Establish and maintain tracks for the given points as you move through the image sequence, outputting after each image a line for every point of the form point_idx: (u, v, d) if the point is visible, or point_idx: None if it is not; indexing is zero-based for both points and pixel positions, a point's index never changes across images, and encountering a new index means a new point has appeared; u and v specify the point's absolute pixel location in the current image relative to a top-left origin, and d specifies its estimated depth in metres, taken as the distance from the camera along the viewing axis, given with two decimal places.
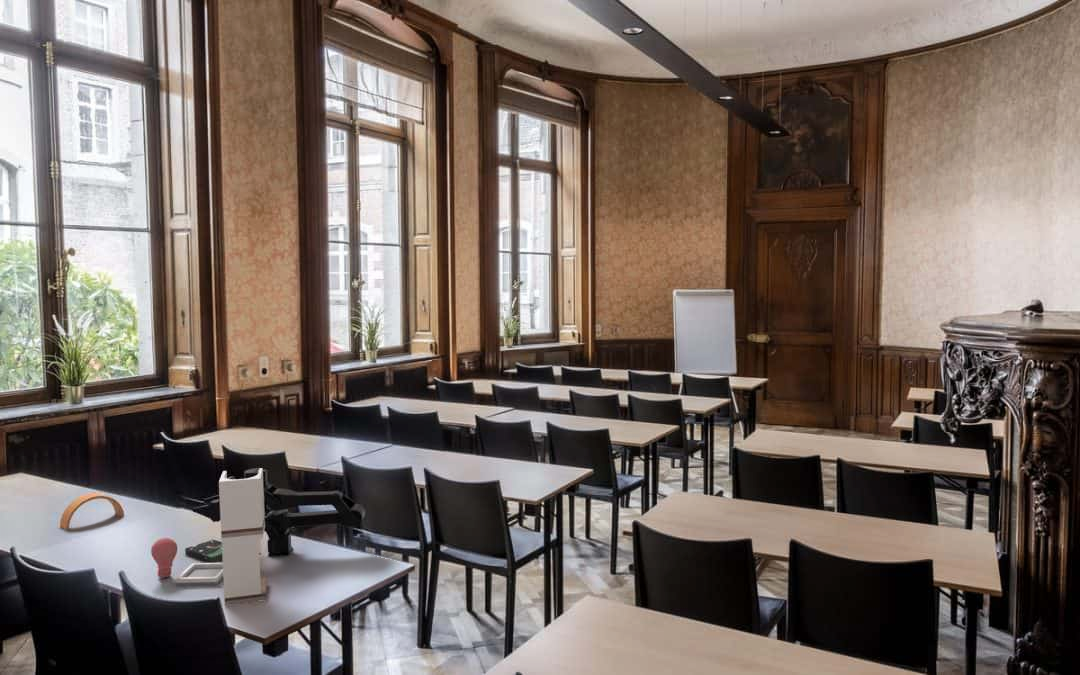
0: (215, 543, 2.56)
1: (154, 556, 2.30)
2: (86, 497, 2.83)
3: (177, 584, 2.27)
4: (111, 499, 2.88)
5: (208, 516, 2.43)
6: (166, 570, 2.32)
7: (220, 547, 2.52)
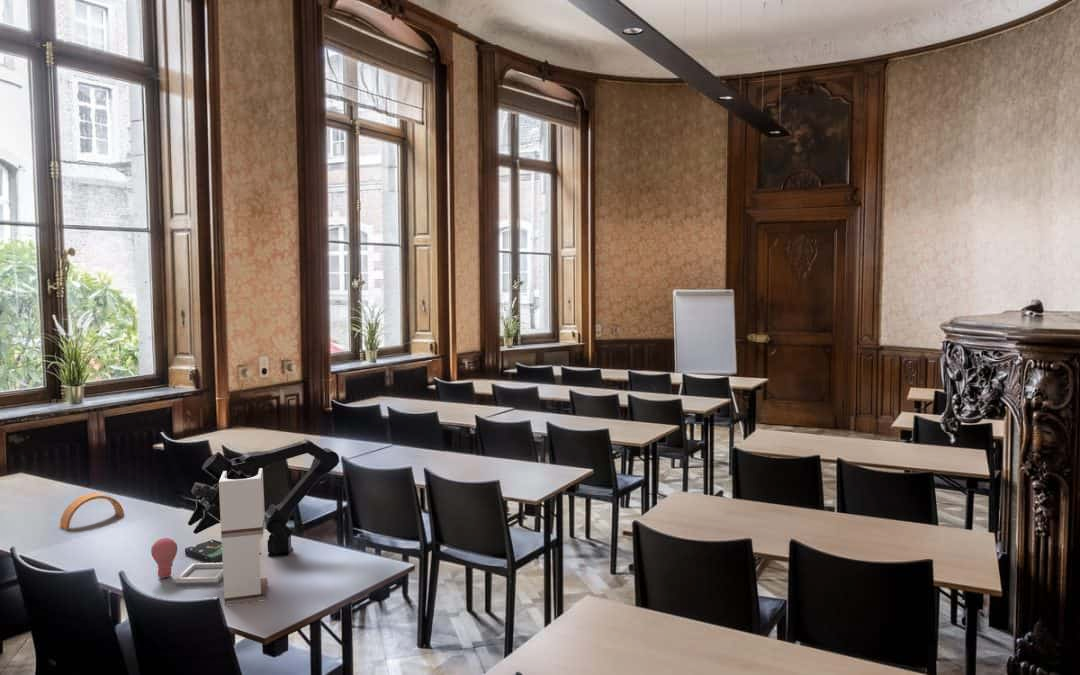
0: (215, 543, 2.56)
1: (154, 556, 2.30)
2: (86, 497, 2.83)
3: (177, 584, 2.27)
4: (111, 499, 2.88)
5: (213, 524, 2.34)
6: (166, 570, 2.32)
7: (220, 547, 2.52)
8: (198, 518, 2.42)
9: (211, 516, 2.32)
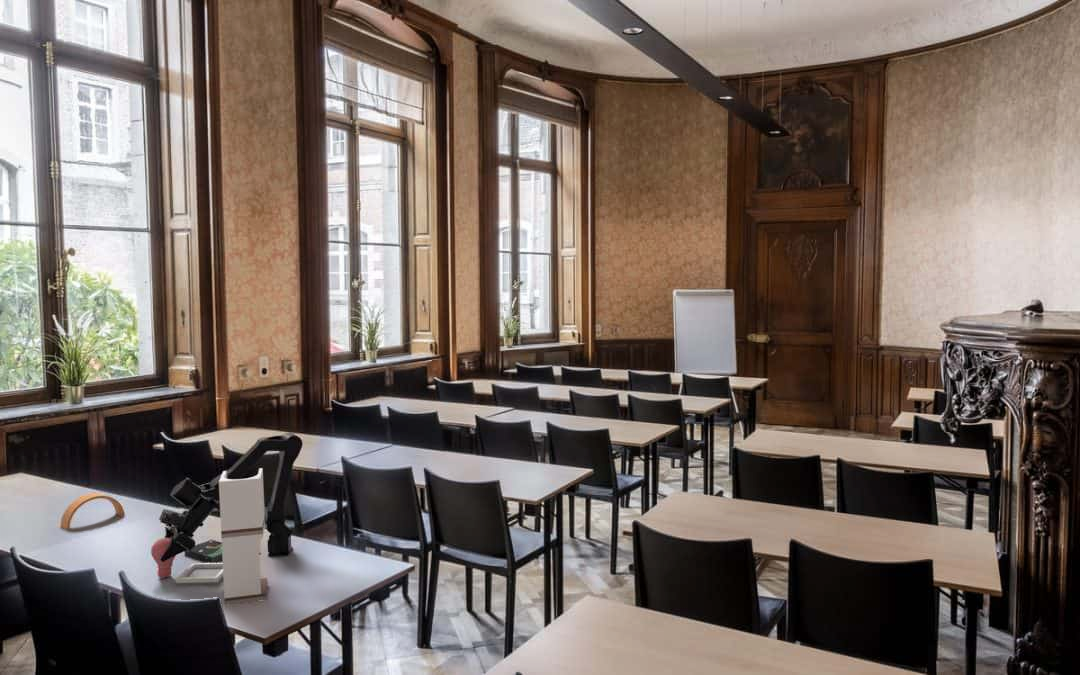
0: (214, 544, 2.56)
1: (154, 556, 2.30)
2: (87, 497, 2.83)
3: (177, 584, 2.27)
4: (112, 499, 2.88)
5: (180, 551, 2.30)
6: (166, 570, 2.32)
7: (220, 547, 2.52)
8: None
9: (178, 543, 2.28)
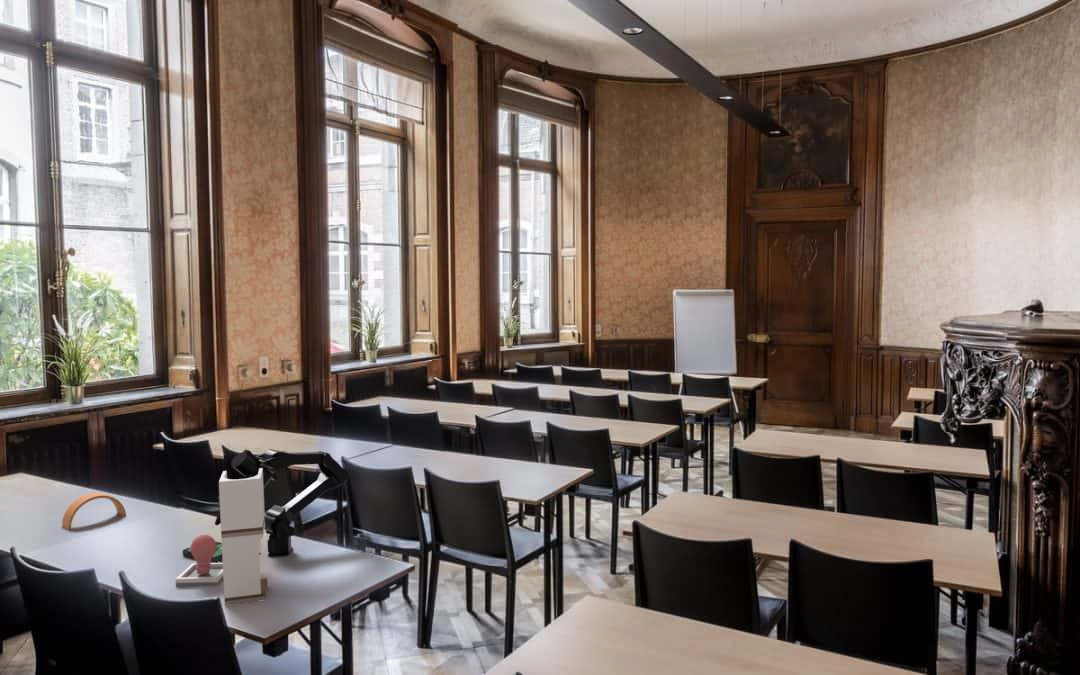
0: None
1: (196, 553, 2.29)
2: (88, 497, 2.83)
3: (177, 584, 2.27)
4: (113, 499, 2.88)
5: None
6: (207, 567, 2.31)
7: (219, 547, 2.52)
8: None
9: None
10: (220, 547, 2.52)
